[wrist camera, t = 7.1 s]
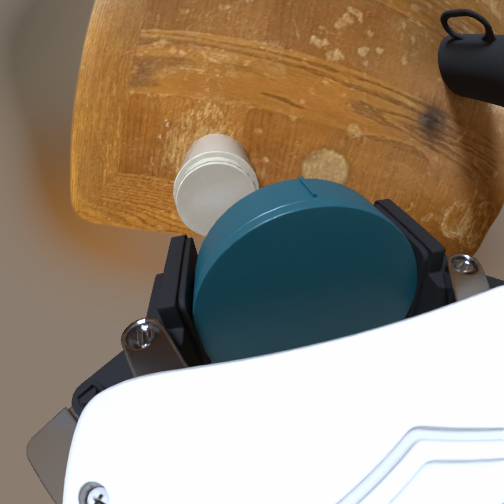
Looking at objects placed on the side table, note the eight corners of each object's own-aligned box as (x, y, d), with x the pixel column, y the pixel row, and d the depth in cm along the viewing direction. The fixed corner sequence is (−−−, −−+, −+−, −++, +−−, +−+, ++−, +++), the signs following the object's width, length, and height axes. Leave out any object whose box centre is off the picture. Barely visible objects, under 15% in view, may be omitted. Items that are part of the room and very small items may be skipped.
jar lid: (178, 187, 8) (167, 218, 6) (400, 171, 9) (439, 195, 7) (212, 353, 12) (213, 396, 10) (371, 328, 12) (389, 364, 10)
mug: (440, -1, 19) (501, -8, 10) (488, 74, 24) (547, 87, 15) (407, 31, 22) (472, 25, 13) (461, 109, 27) (522, 129, 18)
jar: (259, 149, 28) (279, 180, 20) (231, 204, 31) (238, 254, 23) (199, 123, 26) (191, 142, 18) (174, 181, 29) (157, 225, 21)
